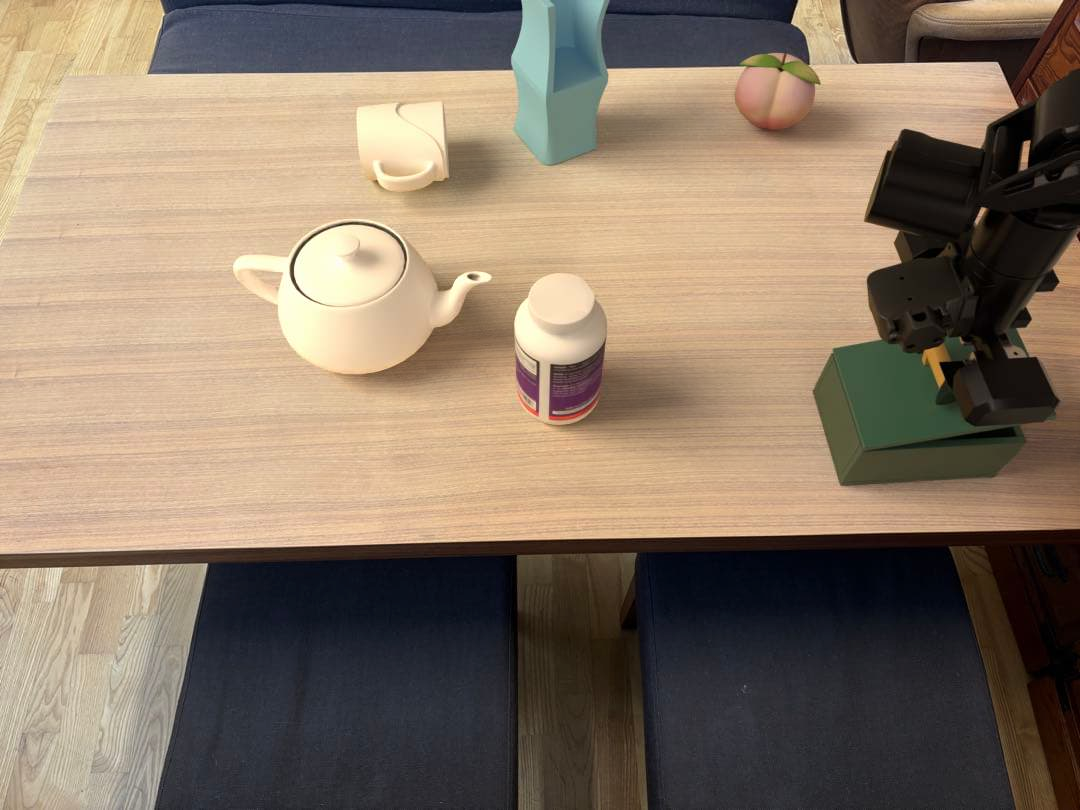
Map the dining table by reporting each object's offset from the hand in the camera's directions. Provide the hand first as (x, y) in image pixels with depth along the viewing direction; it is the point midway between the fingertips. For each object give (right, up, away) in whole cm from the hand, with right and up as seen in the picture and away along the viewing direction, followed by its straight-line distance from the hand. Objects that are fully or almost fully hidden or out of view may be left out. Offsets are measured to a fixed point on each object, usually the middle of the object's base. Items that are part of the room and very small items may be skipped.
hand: (931, 377), depth 72 cm
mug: (-49, +24, +26) cm, 60 cm away
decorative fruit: (-6, +32, +32) cm, 45 cm away
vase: (-31, +30, +30) cm, 53 cm away
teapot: (-50, +5, +14) cm, 52 cm away
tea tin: (+1, -5, +8) cm, 9 cm away
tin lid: (+1, -1, +1) cm, 2 cm away
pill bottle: (-32, -1, +10) cm, 33 cm away
